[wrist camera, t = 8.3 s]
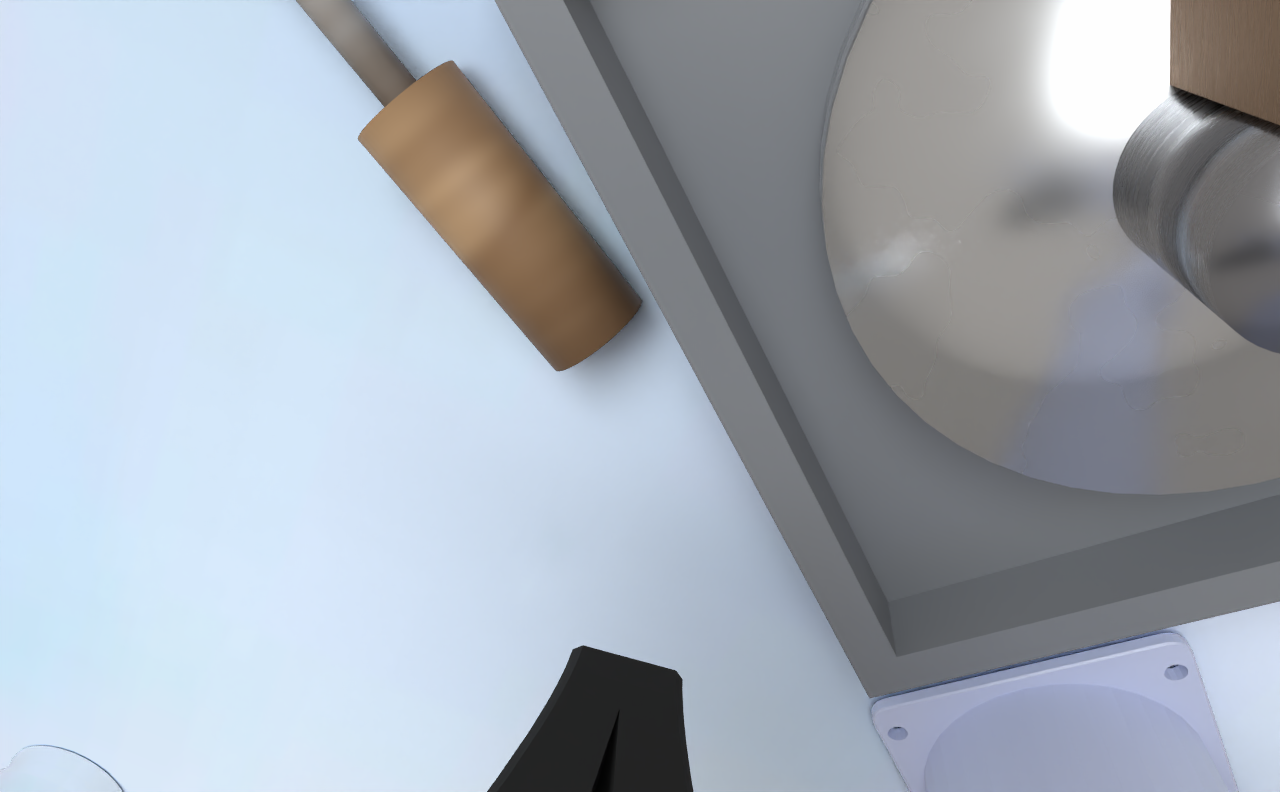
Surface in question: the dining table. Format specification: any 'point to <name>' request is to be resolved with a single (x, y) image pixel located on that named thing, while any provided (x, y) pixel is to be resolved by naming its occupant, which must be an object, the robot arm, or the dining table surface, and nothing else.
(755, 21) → the tray
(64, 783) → the cup with straw
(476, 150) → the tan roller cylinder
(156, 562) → the dining table surface
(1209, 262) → the dial
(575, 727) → the robot arm
